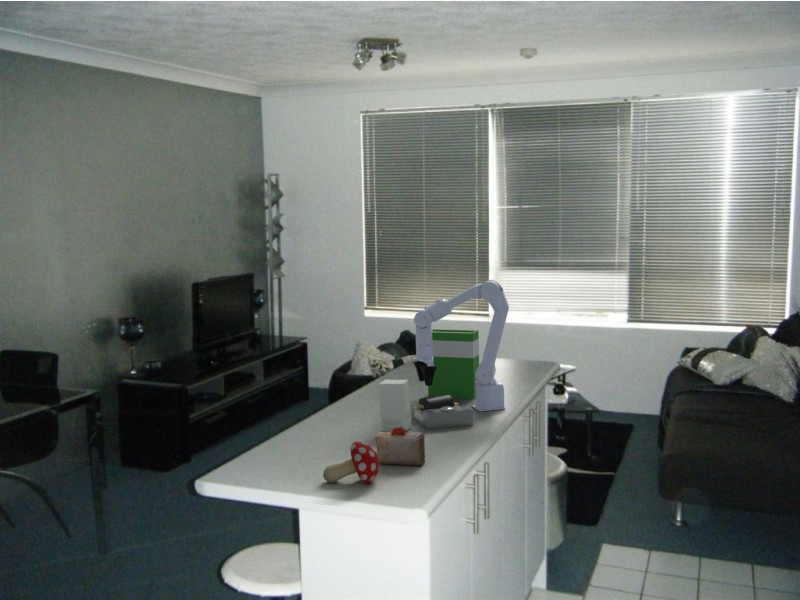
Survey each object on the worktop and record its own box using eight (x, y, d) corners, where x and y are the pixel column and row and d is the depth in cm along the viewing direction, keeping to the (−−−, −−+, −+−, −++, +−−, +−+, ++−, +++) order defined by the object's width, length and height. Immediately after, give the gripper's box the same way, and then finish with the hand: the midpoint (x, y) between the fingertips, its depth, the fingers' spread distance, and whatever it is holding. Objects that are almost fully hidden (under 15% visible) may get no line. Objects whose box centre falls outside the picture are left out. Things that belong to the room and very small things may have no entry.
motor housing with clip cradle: (456, 413, 270) (456, 396, 270) (473, 424, 255) (472, 407, 254) (414, 417, 267) (413, 400, 266) (428, 429, 251) (427, 412, 251)
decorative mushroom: (311, 451, 203) (365, 430, 201) (326, 462, 212) (378, 442, 211) (321, 492, 197) (377, 471, 196) (336, 502, 207) (389, 481, 206)
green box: (428, 396, 297) (426, 332, 294) (434, 391, 304) (433, 329, 301) (474, 398, 290) (472, 333, 288) (479, 394, 297) (478, 330, 294)
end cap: (430, 421, 261) (430, 401, 261) (418, 417, 267) (417, 397, 266) (454, 416, 267) (454, 396, 266) (441, 412, 273) (441, 392, 272)
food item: (372, 466, 217) (371, 430, 216) (379, 457, 225) (378, 422, 224) (421, 468, 214) (420, 432, 213) (427, 459, 222) (426, 424, 221)
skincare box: (411, 427, 254) (410, 379, 252) (405, 433, 248) (403, 383, 246) (387, 426, 257) (385, 378, 255) (379, 431, 251) (378, 382, 249)
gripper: (407, 342, 283) (409, 380, 285) (418, 348, 269) (420, 388, 271) (426, 341, 285) (428, 378, 286) (438, 347, 271) (440, 386, 273)
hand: (425, 383), depth 279 cm, fingers open, 7 cm apart
